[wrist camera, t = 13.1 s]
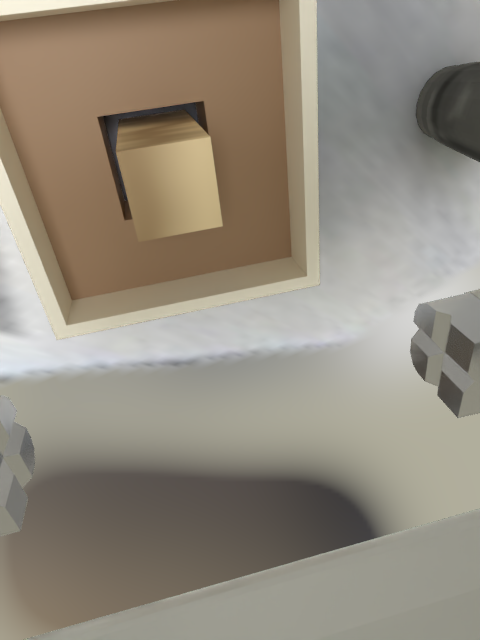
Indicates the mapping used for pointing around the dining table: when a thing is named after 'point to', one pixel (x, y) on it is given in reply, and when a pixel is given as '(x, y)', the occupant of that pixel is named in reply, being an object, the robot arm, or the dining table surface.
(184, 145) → the peg
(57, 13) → the bore box
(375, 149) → the dining table surface
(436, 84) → the beverage cup
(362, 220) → the dining table surface
